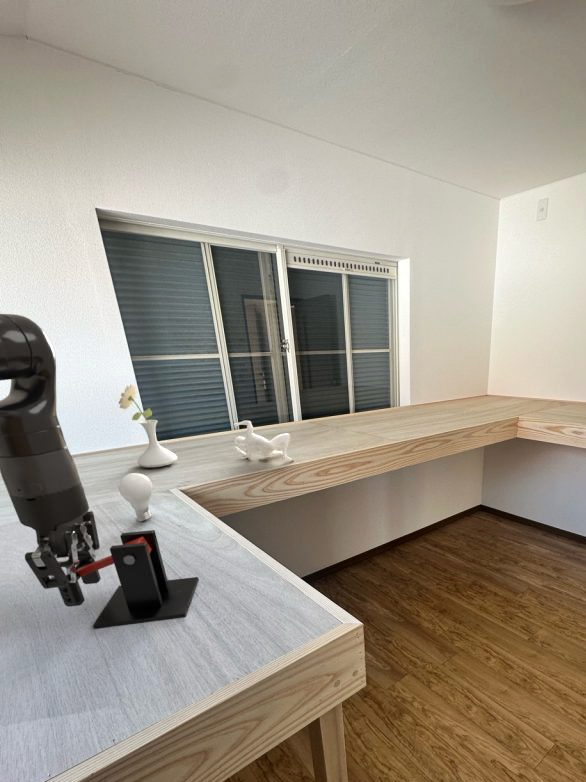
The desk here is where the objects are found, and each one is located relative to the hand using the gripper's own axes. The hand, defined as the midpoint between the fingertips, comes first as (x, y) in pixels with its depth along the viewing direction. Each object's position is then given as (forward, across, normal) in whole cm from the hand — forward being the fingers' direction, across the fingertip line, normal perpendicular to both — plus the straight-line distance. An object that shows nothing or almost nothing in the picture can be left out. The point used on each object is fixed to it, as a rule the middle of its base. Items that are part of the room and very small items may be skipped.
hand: (84, 592), depth 61 cm
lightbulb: (+4, -35, -3) cm, 35 cm away
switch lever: (-4, 0, +5) cm, 6 cm away
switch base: (+4, 0, +8) cm, 9 cm away
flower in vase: (+4, -79, -12) cm, 80 cm away
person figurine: (+4, -78, +21) cm, 81 cm away
